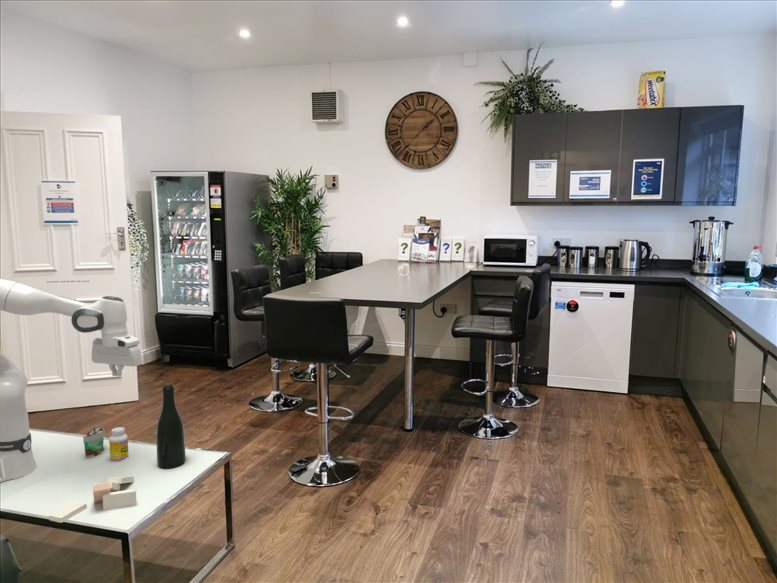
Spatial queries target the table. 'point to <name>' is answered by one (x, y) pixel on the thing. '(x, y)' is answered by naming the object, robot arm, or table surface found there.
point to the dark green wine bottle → (170, 433)
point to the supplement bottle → (118, 445)
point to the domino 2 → (100, 491)
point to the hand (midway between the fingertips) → (117, 375)
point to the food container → (94, 442)
